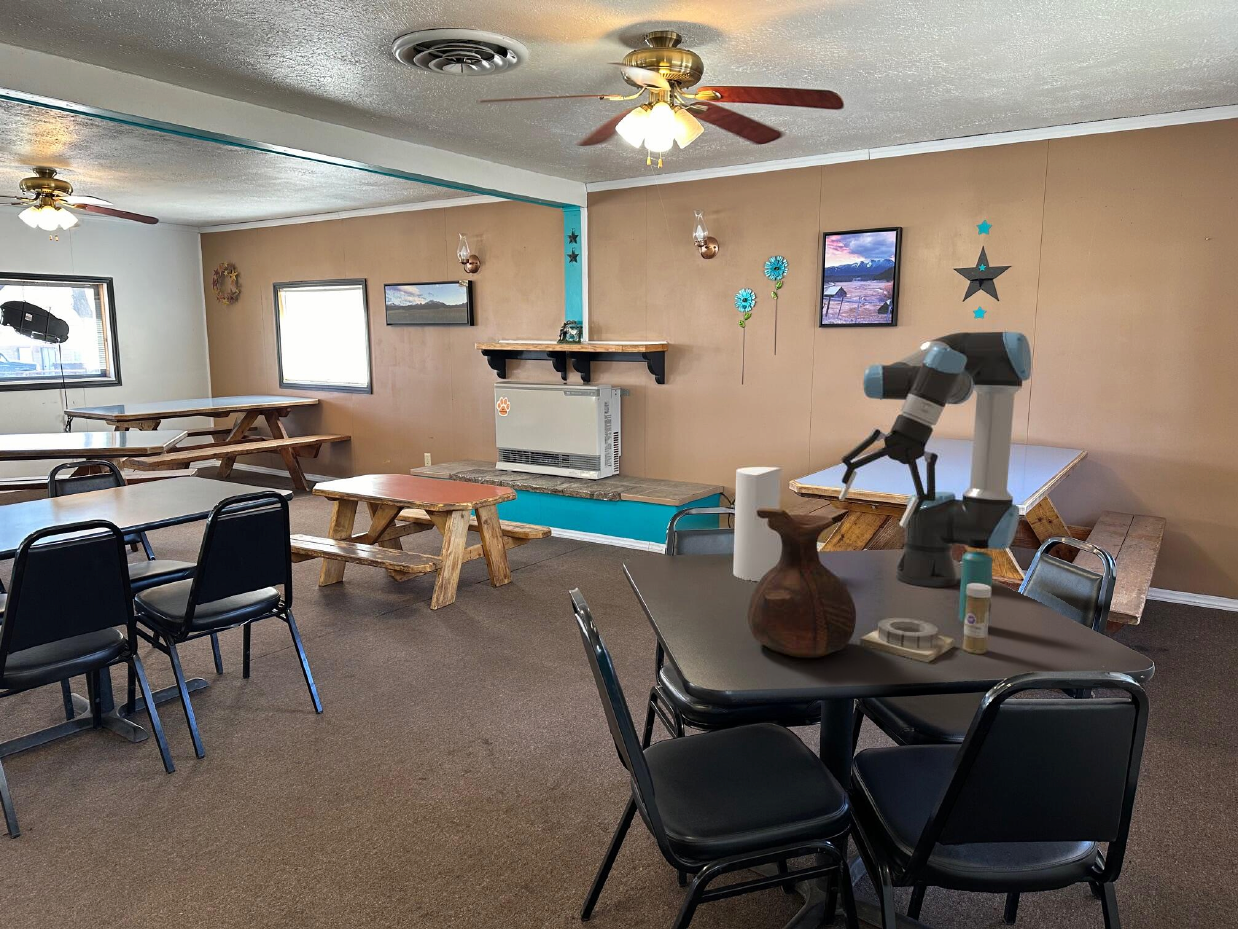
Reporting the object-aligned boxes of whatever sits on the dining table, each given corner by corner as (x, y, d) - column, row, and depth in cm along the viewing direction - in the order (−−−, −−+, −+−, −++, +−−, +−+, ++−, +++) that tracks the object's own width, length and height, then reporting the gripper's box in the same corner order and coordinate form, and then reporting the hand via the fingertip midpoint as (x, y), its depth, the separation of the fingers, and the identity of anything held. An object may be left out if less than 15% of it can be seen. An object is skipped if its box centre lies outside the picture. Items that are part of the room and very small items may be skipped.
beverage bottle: (975, 633, 180) (981, 541, 177) (950, 624, 186) (955, 535, 183) (996, 629, 183) (1002, 539, 180) (970, 620, 189) (976, 533, 186)
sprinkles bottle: (959, 651, 169) (963, 585, 167) (966, 645, 173) (971, 581, 171) (982, 656, 166) (987, 590, 165) (990, 650, 170) (994, 585, 168)
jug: (734, 631, 180) (738, 492, 176) (833, 630, 181) (839, 492, 177) (758, 669, 158) (763, 512, 154) (870, 667, 160) (878, 511, 156)
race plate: (888, 630, 181) (889, 612, 181) (953, 646, 172) (955, 627, 171) (859, 645, 172) (860, 626, 171) (926, 662, 162) (928, 642, 162)
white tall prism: (722, 576, 224) (725, 472, 220) (748, 563, 239) (751, 465, 235) (784, 586, 215) (788, 478, 211) (807, 572, 230) (811, 470, 226)
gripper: (862, 396, 170) (817, 491, 174) (979, 446, 168) (931, 541, 172) (857, 394, 177) (814, 485, 181) (969, 442, 175) (924, 533, 179)
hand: (871, 512), depth 176 cm, fingers open, 13 cm apart
